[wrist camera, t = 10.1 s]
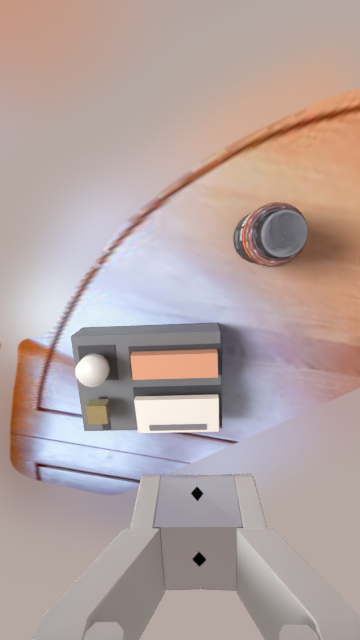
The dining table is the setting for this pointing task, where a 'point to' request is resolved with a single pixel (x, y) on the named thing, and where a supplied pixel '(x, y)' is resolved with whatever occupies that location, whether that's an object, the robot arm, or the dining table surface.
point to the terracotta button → (174, 364)
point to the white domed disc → (92, 370)
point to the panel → (119, 382)
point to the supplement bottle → (271, 235)
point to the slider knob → (98, 411)
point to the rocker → (177, 413)
